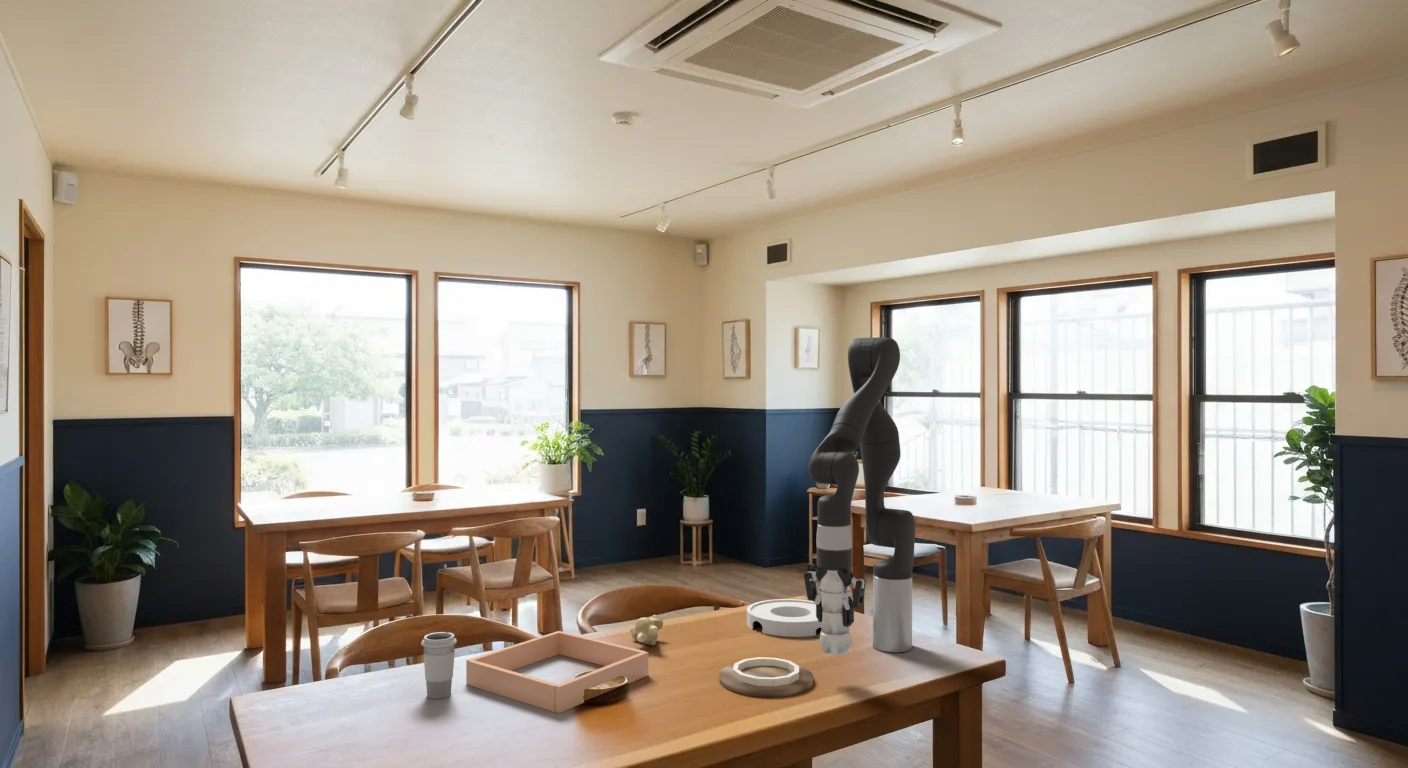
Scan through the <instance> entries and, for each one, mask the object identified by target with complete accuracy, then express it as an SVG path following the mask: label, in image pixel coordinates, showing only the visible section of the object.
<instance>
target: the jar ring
mask: <svg viewBox="0 0 1408 768" xmlns="http://www.w3.org/2000/svg"><path fill="white" fill-rule="evenodd" d="M733 664H734V663H733ZM798 665H799V664H796V663H795V662H793V661H791V660H788V659H782V658H777V657H762V656H761V657H759V656H758V657H751V658H743V659H741V660H739V661H737V662H735V664H734V667H733V677H734V678H736V679H737V680H739V681H740V682H743V683H747V684H751V685H755V686H780V685H786V684H791V683H793V682H794V681H796V680H798V679H799V666H798ZM753 666H776V667H781V668H785V669H788V670H790V671H791V672H792V673H790V674H788V675H786V676H779V677H756V676H752V675H747V674H744V673H743V672H741V671H740V670H742V669H744V668H747V667H753Z"/></svg>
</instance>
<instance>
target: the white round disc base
mask: <svg viewBox="0 0 1408 768" xmlns="http://www.w3.org/2000/svg"><path fill="white" fill-rule="evenodd" d="M756 622H758V623H759V624H760V625H761V627H762V629H761V633H762V634H765V635H770V636H776V637H777V636H778V637H791V638H793V637H794V638H803V637H813V636H816V635H817V630H818V629H819V628H820V629H821V627H822V622H818V619H817V617H816V604H815V602H813V601H812V600H811V601H810V600H808V599H806V600H805V599H799V598H798V599H795V598H779V599H777V598H776V599H766V600H761V601H757V602H754V603H751V604H749V605H748V606H747V607H746V625H747V627H748V628H749V629H751V630H753V629H754V626H755V623H756Z"/></svg>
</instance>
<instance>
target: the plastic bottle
mask: <svg viewBox="0 0 1408 768" xmlns="http://www.w3.org/2000/svg"><path fill="white" fill-rule="evenodd" d="M823 577H824V578H823ZM823 577H822V579H821V580H820V582H818V583H819V584H818V589H819V590H820V596H821V603H822V627H821V628H820V629H821V631H820V632H819V633H820V634H819V645H820V646H819V647H820V649H821V650H822V652H823V653H824V654H827V655H830V656H844V655H846V654H848V653H849V651H850V650H851V647H852V639H851V633H850V626H849V627H845V626H844V609H845V607H844V604H843V599H842V598H841V597H842V591H843V592H844V593H845V594H848V593H849V591H850V589H851V585H850V586H849V585H848V586H847V587H845V586H844V584H843V582H842V580H841V578H840V577H839V575H838V573H837V571H831V570H827V573H826V574H825V575H824V576H823ZM836 579H838V581H839V583H838V581H837V580H836ZM848 599H849V597H848Z"/></svg>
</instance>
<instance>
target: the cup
mask: <svg viewBox="0 0 1408 768" xmlns="http://www.w3.org/2000/svg"><path fill="white" fill-rule="evenodd" d="M457 642H458V640H457V638H455V634H454V633H453V632H449V631H447V632H445V631H439V632H438V631H437V632H430V633H428V634H426V635H424V637H423V639H422V640H421V642H420V645H421V646H422V647H423V663H424V664H423V665H424V677H425V679H424V680H425V682H426V696H427V698H429V699H434V700H437V699H438V700H439V699H440V700H441V699H445V698H447V697H450V696H451V694H452V686H453V685H452V684H453V683H452V682H453V678H454V663H455V654H456V653H455V650H456V649H455V645H456V644H457Z"/></svg>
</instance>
